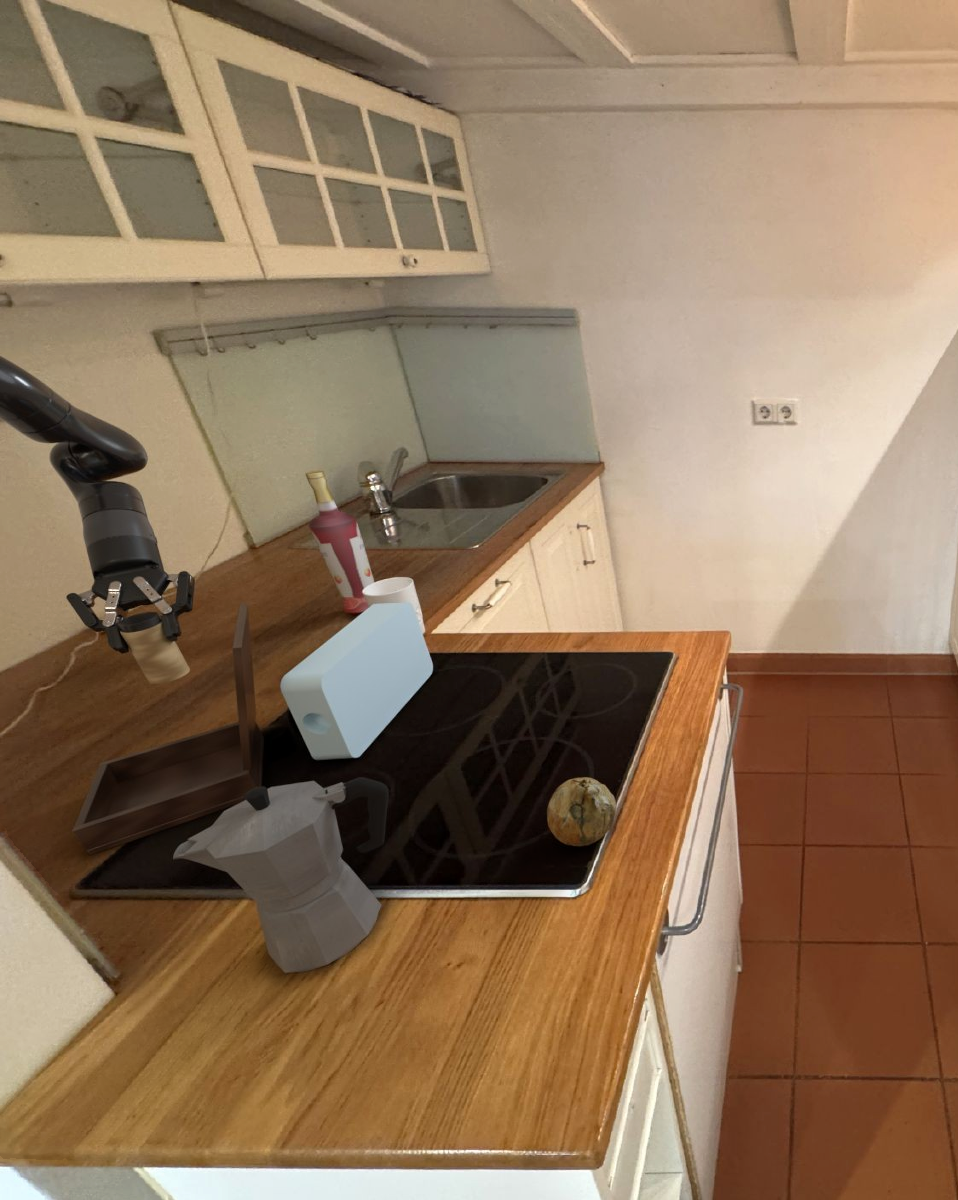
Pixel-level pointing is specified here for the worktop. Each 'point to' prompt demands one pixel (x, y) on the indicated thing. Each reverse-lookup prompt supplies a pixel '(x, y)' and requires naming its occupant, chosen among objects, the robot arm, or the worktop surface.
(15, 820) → the worktop surface
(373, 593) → the white cup
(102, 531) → the robot arm
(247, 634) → the chest lid
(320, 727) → the pale blue rectangular block
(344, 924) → the coffeepot
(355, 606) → the liquor
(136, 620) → the beige jar
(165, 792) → the chest
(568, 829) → the onion
